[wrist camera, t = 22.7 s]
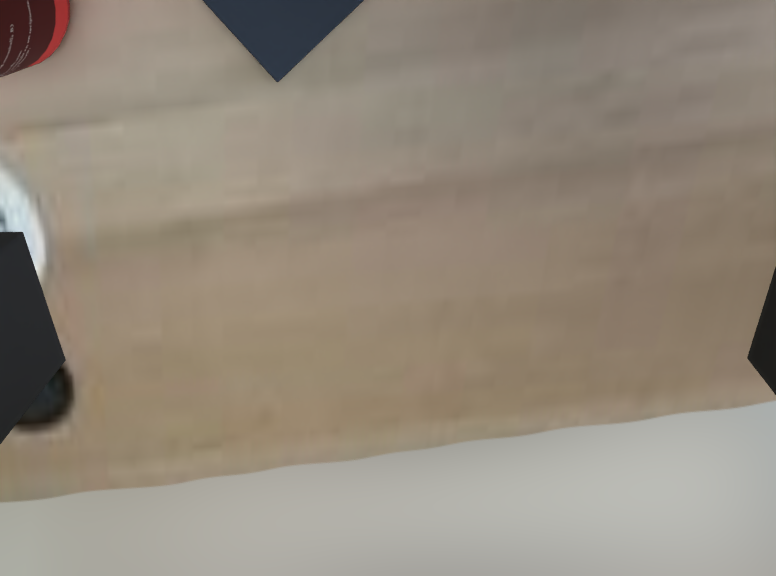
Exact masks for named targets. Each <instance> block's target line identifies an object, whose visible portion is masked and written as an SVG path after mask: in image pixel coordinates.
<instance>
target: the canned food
mask: <svg viewBox="0 0 776 576" xmlns="http://www.w3.org/2000/svg"><path fill="white" fill-rule="evenodd" d="M69 18H70V3H69V0H0V77H3V76H6V75H8V74H11V73H14V72H16V71H19V70H22V69H25V68H27V67H30V66H33V65H35V64H38V63H40V62H42V61H43V60H45V59H46V58H48V57H49V56H51V54H52V53H53V52H54V51H55V50H56V49H57V47H58V46H59V45H60V43H61V41H62V39H63V37H64V35H65V32H66V30H67V26H68V22H69Z"/></svg>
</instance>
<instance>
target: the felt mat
mask: <svg viewBox="0 0 776 576" xmlns="http://www.w3.org/2000/svg"><path fill="white" fill-rule="evenodd" d="M203 1H204V2H205V4H206V5H207V6H208V7H209V8H210V9H211V10H212V11H213V12H214V13H215V14H216V16H217V17H218V18H219V19H220V20H221V21H222V22H223V23H224V24H225V25H226V27H227V28H228V29H229V30H230V31H231V32H232V33H233V34H234V35H235V36H236V37H237V39H238V40H239V41H240V42H241V43H242V44H243V45H244V46H245V47H246V48H247V50H248V51H249V52H250V53H251V54H252V55H253V56H254V57H255V58H256V59H257V60H258V62H259V63H260V64H261V65H262V66H263V67H264V68H265V69H266V70H267V71H268V73H269V74H270V75H271V76H272V77H273V78H274V79H275V80H276V81H277V82H278V81H280V80H281V79H282V78H283V77H284V76H285V75H286V74H287V73H288V72H289V71H290V70H291V69H292V68H293V67H294V66H295V65H296V64H297V63H298V62H299V61H300V60H302V59H303V58H304V57H305V56H306V55H307V54H308V53H309V52H310V51H311V50H312V49H313V48H314V47H315V46H316V45H317V44H318V43H319V42H320V41H321V40H323V39H324V38H325V37H326V36H327V35H328V34H329V33H330V32H331V31H332V30H333V29H334V28H335V27H336V26H337V25H338V24H339V23H340V22H341V21H342V20H343V19H345V18H346V17H347V16H348V15H349V14H350V13H351V12H352V11H353V10H354V9H355V8H356V7H357V6H358V5H359V4H360V3H361V2H362V1H363V0H203Z"/></svg>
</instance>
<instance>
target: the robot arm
mask: <svg viewBox="0 0 776 576" xmlns="http://www.w3.org/2000/svg"><path fill="white" fill-rule="evenodd" d="M747 358H748V360H749V361H750V362H751V364H752V365H753V366H754V367H755V369H756V370H757V371H758V373H759V374H760V375H761V376H762V378H763V379H764V380H765V382H766V383H767V384H768V385H769V387H770V388H771V389H772V391H773V392H774V393H775V395H776V268H775V271H774V274H773V277H772V280H771V284H770V287H769V290H768V293H767V296H766V300H765V303H764V306H763V309H762V312H761V316H760V319H759V322H758V325H757V328H756V332H755V335H754V338H753V341H752V344H751V348H750V351H749V354H748V357H747ZM64 362H65V357H64V354H63V351H62V348H61V345H60V342H59V339H58V336H57V333H56V330H55V327H54V324H53V321H52V318H51V315H50V312H49V309H48V306H47V303H46V300H45V297H44V294H43V291H42V288H41V285H40V282H39V279H38V276H37V273H36V270H35V267H34V264H33V261H32V258H31V255H30V252H29V249H28V246H27V243H26V240H25V237H24V234H23V232H0V444H1V443H2V441H3V440H4V439H5V438H6V436H7V435H8V434H9V432H10V431H11V430H12V428H13V427H14V426H15V425H16V423H17V422H18V421H19V419H20V418H21V417H22V416H23V414H24V413H25V412H26V410H27V409H28V408H29V407H30V405H31V404H32V403H33V401H34V400H35V399H36V398H37V396H38V395H39V394H40V392H41V391H42V390H43V389H44V387H45V386H46V385H47V383H48V382H49V381H50V380H51V378H52V377H53V376H54V374H55V373H56V372H57V371H58V369H59V368H60V367H61V365H62V364H63V363H64Z"/></svg>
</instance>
